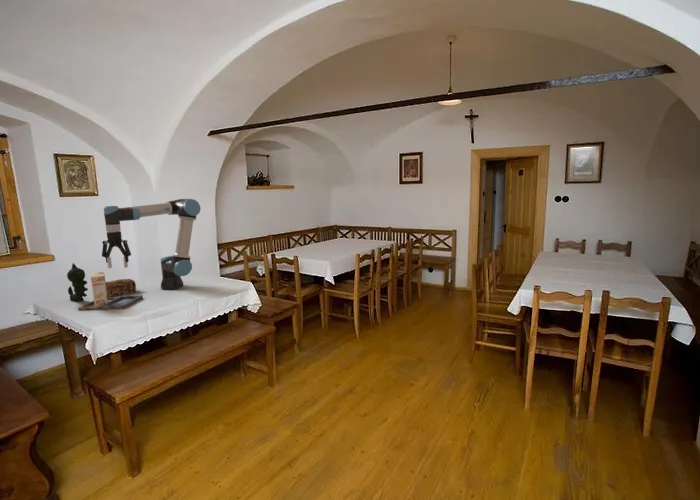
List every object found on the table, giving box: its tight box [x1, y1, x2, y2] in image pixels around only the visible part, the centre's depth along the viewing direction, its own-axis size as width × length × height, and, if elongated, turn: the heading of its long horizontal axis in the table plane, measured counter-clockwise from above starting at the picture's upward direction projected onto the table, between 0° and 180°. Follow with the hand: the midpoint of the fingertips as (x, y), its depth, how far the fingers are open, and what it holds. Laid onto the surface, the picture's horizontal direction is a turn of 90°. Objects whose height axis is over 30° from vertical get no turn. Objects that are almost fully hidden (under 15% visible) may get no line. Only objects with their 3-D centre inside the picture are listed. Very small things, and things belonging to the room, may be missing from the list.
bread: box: [105, 278, 137, 297], centre depth 262 cm, size 19×11×10 cm, turn 137°
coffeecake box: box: [90, 271, 109, 307], centre depth 237 cm, size 15×7×20 cm, turn 32°
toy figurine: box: [66, 262, 89, 303], centre depth 247 cm, size 9×19×25 cm, turn 59°
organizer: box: [77, 294, 144, 311], centre depth 238 cm, size 27×22×2 cm
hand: (118, 267), depth 235 cm, fingers open, 9 cm apart
